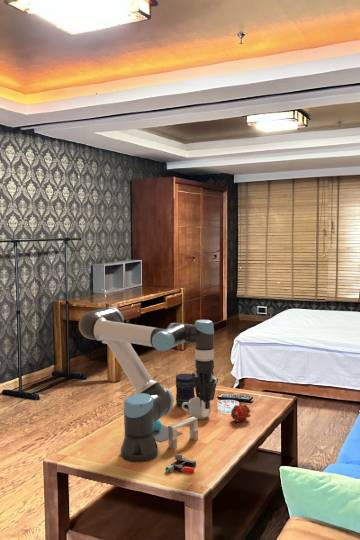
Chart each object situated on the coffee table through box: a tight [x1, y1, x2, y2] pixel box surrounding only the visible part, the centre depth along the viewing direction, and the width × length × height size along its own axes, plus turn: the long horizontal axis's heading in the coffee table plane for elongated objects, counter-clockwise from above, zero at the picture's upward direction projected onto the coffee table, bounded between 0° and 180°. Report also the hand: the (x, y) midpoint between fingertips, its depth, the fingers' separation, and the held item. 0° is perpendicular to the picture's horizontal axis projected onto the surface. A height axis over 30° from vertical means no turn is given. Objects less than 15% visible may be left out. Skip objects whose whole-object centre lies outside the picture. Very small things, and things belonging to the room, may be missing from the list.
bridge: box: [167, 416, 199, 450], centre depth 228 cm, size 3×14×9 cm, turn 133°
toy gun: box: [164, 453, 197, 474], centre depth 204 cm, size 10×12×5 cm
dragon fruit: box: [230, 403, 251, 423], centre depth 252 cm, size 8×8×12 cm
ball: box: [153, 419, 162, 431], centre depth 241 cm, size 6×6×6 cm
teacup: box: [181, 396, 212, 420], centre depth 257 cm, size 14×11×8 cm
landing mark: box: [153, 425, 183, 443], centre depth 239 cm, size 13×13×1 cm
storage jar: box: [175, 373, 196, 409], centre depth 274 cm, size 10×10×15 cm
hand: (205, 415), depth 218 cm, fingers closed
